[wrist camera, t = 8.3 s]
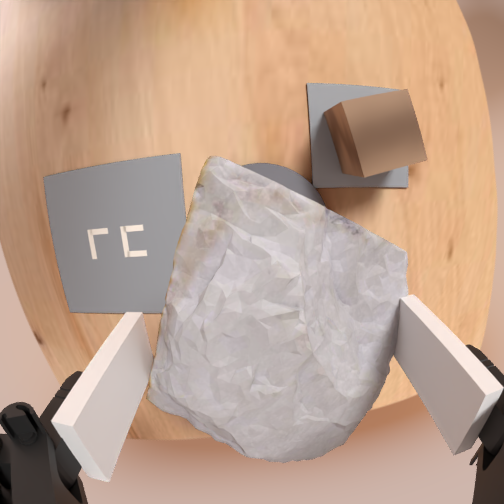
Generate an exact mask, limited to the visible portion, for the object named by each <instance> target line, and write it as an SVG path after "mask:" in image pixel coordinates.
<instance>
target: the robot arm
mask: <svg viewBox="0 0 504 504" xmlns="http://www.w3.org/2000/svg"><path fill="white" fill-rule="evenodd" d="M393 355H394V357H395V358H396V360H397V361H398V363H399V364H400V366H401V368H402V369H403V371H404V372H405V374H406V375H407V377H408V379H409V380H410V382H411V383H412V385H413V387H414V388H415V390H416V392H417V393H418V395H419V397H420V398H421V400H422V401H423V403H424V405H425V406H426V408H427V410H428V411H429V413H430V415H431V417H432V418H433V420H434V422H435V423H436V425H437V427H438V429H439V430H440V432H441V434H442V436H443V437H444V439H445V441H446V442H447V444H448V446H449V448H450V450H451V452H452V453H453V455H456V454H458V453H461V452H463V451H466V450H468V449H470V448H471V447H472V446H473V444H474V443H475V441H476V439H477V438H478V437H479V438H480V440H481V441H482V444H481V446H480V447H479V449H478V450H477V452H476V453H475V455H474V457H473V458H472V459H471V462H470V465H472V464H473V463H474V462H475V460H476V459H477V457H478V462H477V464H476V465H477V473H476V481H475V489H474V496H473V502H472V504H504V375H503V374H502V373H501V372H500V371H499V369H498V368H497V367H496V366H494V364H493V363H492V362H491V361H490V360H488V358H487V357H486V356H485V355H484V354H483V353H482V352H481V351H480V350H479V349H477V348H475V347H473V346H471V345H470V344H469V345H464V344H463V343H462V342H461V341H460V340H459V339H458V338H457V337H456V336H455V335H454V334H453V332H452V331H451V330H450V329H449V328H448V327H447V326H446V325H445V324H444V323H443V322H442V321H441V320H440V319H439V318H438V317H436V316H435V315H434V314H433V313H432V312H431V311H430V310H429V309H428V308H427V307H426V306H425V305H424V304H423V303H422V302H421V301H420V300H419V299H418V298H417V297H416V296H415V295H407V296H406V297H402V298H400V310H399V325H398V335H397V343H396V349H395V353H394V354H393ZM153 361H154V358H153V354H152V350H151V346H150V342H149V338H148V334H147V330H146V325H145V321H144V317H143V312H126V313H125V314H124V316H123V317H122V318H121V320H120V321H119V323H118V324H117V325H116V327H115V328H114V329H113V331H112V332H111V334H110V335H109V336H108V338H107V339H106V340H105V342H104V343H103V345H102V346H101V347H100V349H99V350H98V352H97V353H96V354H95V356H94V357H93V359H92V360H91V362H90V363H89V365H88V366H87V367H86V369H85V370H84V372H80V371H76V372H75V373H74V374H72V375H71V376H70V377H68V378H67V379H66V380H65V382H64V383H63V384H62V386H61V387H60V390H58V391H57V393H56V394H55V397H53V399H52V400H51V401H50V403H49V404H48V406H47V407H46V409H45V410H44V412H43V413H42V415H41V416H40V418H39V417H38V416H37V414H36V412H35V411H34V409H33V407H31V406H30V405H29V404H27V403H24V402H16V403H13V404H11V405H9V406H7V407H6V408H4V409H3V410H2V412H1V413H0V424H1V426H2V427H3V429H4V430H5V432H6V433H7V434H0V504H88V502H87V498H86V495H85V491H84V487H83V483H82V481H81V479H80V477H79V476H78V474H79V472H80V470H81V467H82V469H83V470H84V471H85V473H86V474H87V475H88V477H90V478H94V479H99V480H103V481H107V482H109V481H110V479H111V476H112V473H113V470H114V468H115V465H116V462H117V460H118V457H119V454H120V452H121V449H122V446H123V444H124V441H125V439H126V436H127V434H128V431H129V428H130V426H131V423H132V421H133V418H134V416H135V413H136V411H137V408H138V406H139V403H140V401H141V399H142V396H143V394H144V391H145V389H146V386H147V384H148V382H149V378H150V373H151V369H152V365H153Z"/></svg>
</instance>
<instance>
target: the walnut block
mask: <svg viewBox="0 0 504 504" xmlns="http://www.w3.org/2000/svg"><path fill="white" fill-rule="evenodd" d="M323 113H324V116H325V119H326V122H327V125H328V128H329V131H330V134H331V137H332V140H333V143H334V147H335V150H336V153H337V156H338V160H339V163H340V167H341V170H342V173H343V174H348V175H353V176H358V177H363V178H365V177H369V176H372V175H376V174H379V173H383V172H386V171H390V170H393V169H397V168H401V167H404V166H408V165H412V164H415V163H419V162H423V161H426V160H427V156H426V152H425V148H424V144H423V140H422V136H421V132H420V129H419V125H418V121H417V118H416V115H415V111H414V108H413V105H412V102H411V99H410V95H409V92H408V89H404V90H398V91H392V92H386V93H381V94H375V95H370V96H365V97H360V98H355V99H351V100H346V101H342V102H340V103H338V104H336V105H335V106H333V107H331V108H330V109H328V110H327V111H325V112H323Z"/></svg>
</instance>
